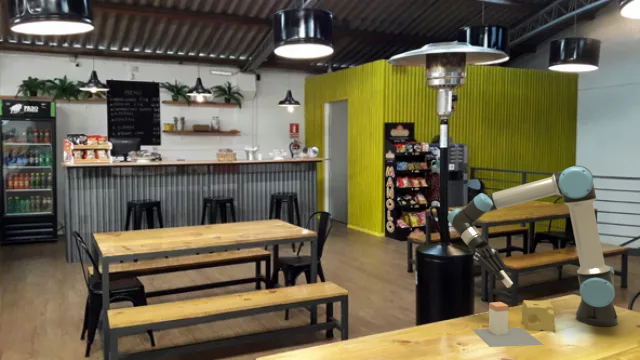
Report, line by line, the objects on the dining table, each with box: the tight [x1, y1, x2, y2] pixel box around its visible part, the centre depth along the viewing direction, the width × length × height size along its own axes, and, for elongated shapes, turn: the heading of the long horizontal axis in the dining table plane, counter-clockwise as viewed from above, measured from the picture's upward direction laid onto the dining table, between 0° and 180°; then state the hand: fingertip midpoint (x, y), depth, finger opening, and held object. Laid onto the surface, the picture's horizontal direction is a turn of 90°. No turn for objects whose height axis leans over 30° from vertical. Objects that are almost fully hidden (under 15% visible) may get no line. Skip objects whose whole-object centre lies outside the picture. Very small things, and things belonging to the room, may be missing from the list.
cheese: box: [521, 299, 556, 334], centre depth 211 cm, size 10×11×10 cm
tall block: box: [488, 301, 509, 335], centre depth 205 cm, size 5×5×11 cm
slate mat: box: [471, 327, 545, 348], centre depth 200 cm, size 20×18×1 cm
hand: (510, 285), depth 210 cm, fingers closed
